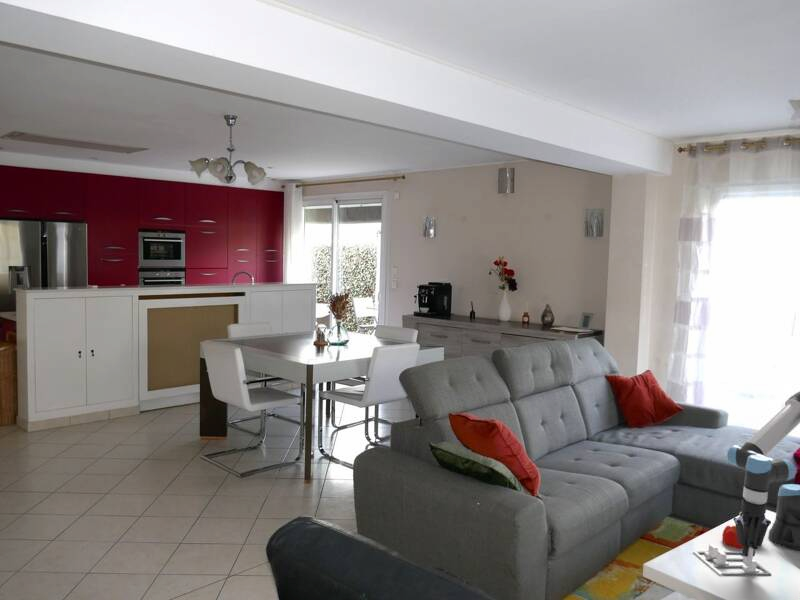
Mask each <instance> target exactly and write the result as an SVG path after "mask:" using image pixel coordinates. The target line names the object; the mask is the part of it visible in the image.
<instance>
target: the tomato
mask: <svg viewBox="0 0 800 600" xmlns="http://www.w3.org/2000/svg"><path fill="white" fill-rule="evenodd" d="M721 538H722V541H723V543H724V544H725V545H727V546H728V547H732V548H737V549H743V546H742V545H740V544H739V543H738V540H737V531H736V525H732V526H731V525H726V526H725V528H723V531H722V537H721Z"/></svg>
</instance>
